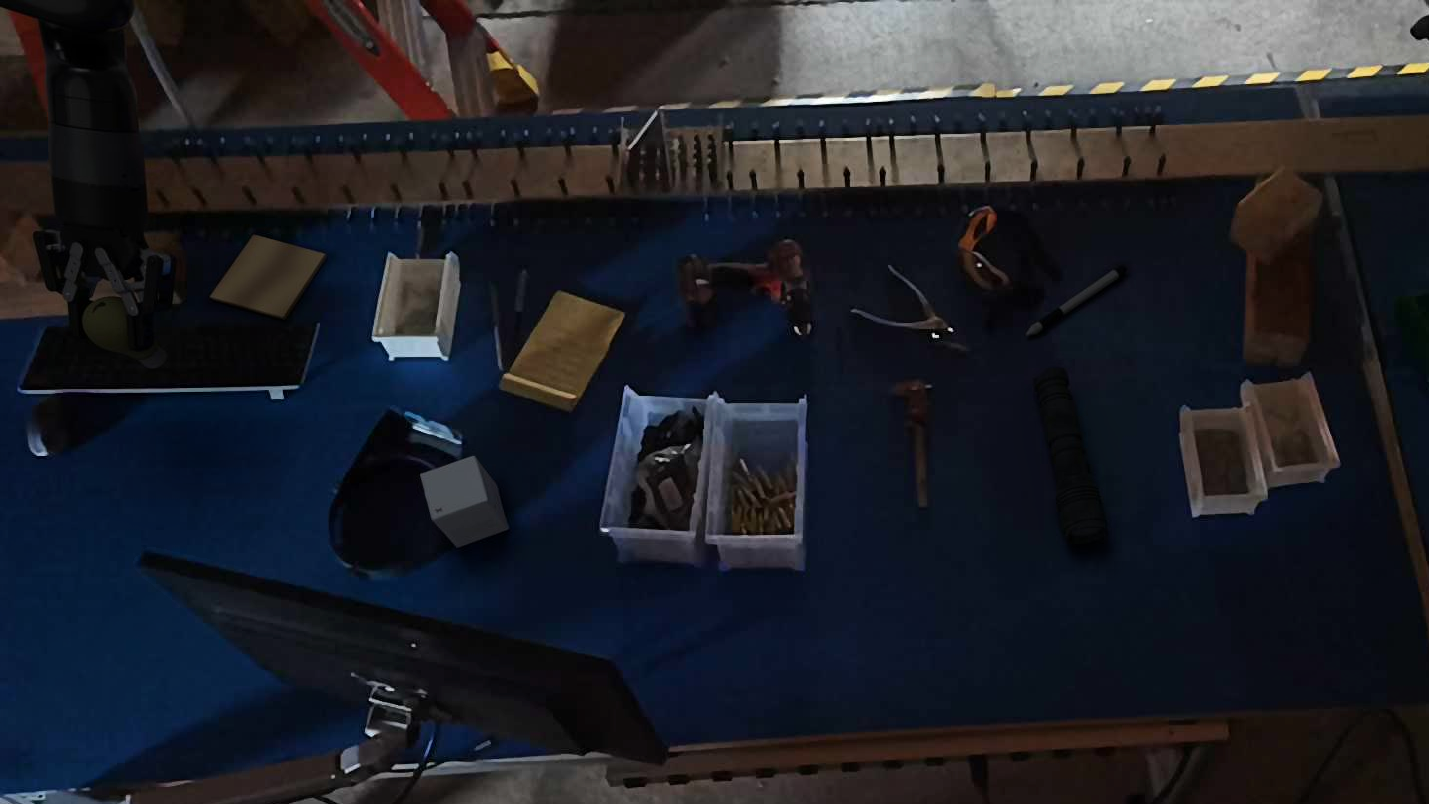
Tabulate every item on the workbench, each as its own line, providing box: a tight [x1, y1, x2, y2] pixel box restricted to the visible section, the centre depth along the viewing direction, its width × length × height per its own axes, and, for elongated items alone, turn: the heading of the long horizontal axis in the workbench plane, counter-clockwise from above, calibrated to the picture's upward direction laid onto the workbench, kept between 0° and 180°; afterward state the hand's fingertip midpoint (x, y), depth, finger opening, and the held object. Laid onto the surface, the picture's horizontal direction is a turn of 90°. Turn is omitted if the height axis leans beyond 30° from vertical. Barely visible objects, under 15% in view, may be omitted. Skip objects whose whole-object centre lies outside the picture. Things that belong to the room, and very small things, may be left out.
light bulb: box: [82, 295, 168, 369], centre depth 118 cm, size 6×6×10 cm
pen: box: [1024, 264, 1128, 337], centre depth 138 cm, size 1×16×1 cm, turn 129°
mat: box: [209, 234, 328, 321], centre depth 139 cm, size 10×10×1 cm
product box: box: [419, 455, 510, 548], centre depth 122 cm, size 6×6×7 cm
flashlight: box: [1032, 365, 1109, 546], centre depth 127 cm, size 5×21×5 cm, turn 9°
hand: (113, 342), depth 116 cm, fingers closed on light bulb, 5 cm apart
